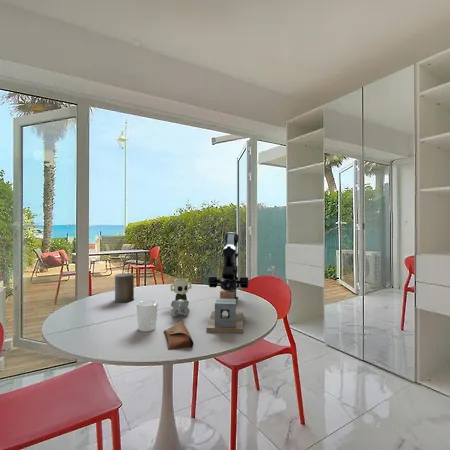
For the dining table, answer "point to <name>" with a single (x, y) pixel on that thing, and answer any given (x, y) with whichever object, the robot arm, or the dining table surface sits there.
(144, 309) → the white cup
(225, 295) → the shaft
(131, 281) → the pillar candle
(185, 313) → the elephant statuette
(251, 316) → the dining table surface
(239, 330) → the bearing base
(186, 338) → the sunglasses case
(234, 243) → the robot arm
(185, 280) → the character mug
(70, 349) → the dining table surface
